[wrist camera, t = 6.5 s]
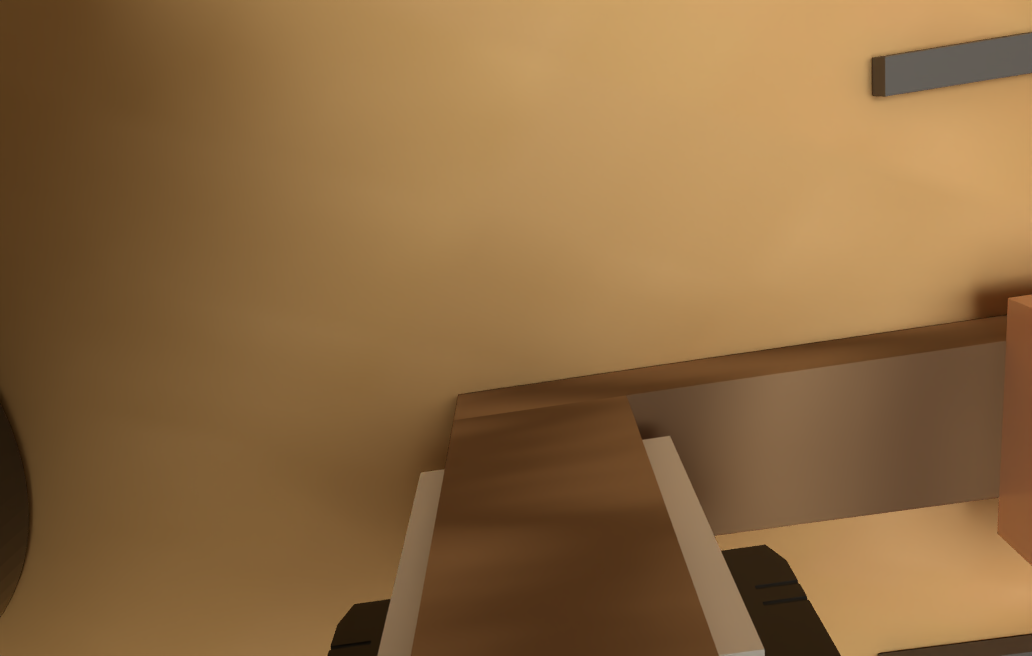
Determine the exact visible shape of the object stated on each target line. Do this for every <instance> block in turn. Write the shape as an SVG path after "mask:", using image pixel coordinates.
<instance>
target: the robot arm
mask: <svg viewBox="0 0 1032 656" xmlns="http://www.w3.org/2000/svg"><path fill="white" fill-rule="evenodd" d="M642 441H643V444H644V446H645V449H646V452H647V455H648V458H649V460H650V463H651V466H652V469H653V472H654V474H655V477H656V480H657V483H658V486H659V489H660V491H661V494H662V497H663V500H664V503H665V505H666V508H667V511H668V514H669V517H670V519H671V522H672V525H673V528H674V531H675V533H676V536H677V539H678V542H679V545H680V548H681V550H682V553H683V556H684V559H685V562H686V564H687V567H688V570H689V573H690V576H691V578H692V581H693V584H694V587H695V590H696V593H697V595H698V598H699V601H700V604H701V607H702V609H703V612H704V615H705V618H706V621H707V623H708V626H709V629H710V632H711V635H712V638H713V640H714V643H715V646H716V649H717V652H718V654H719V656H841V655H840V653H839V652H838V650H837V648H836V646H835V645H834V643H833V641H832V639H831V638H830V636H829V634H828V632H827V631H826V629H825V627H824V625H823V624H822V622H821V620H820V618H819V617H818V615H817V613H816V611H815V610H814V608H813V606H812V604H811V603H810V601H809V600H807V596H806V594H805V592H804V590H803V589H802V587H801V585H800V584H798V580H797V578H796V576H795V575H794V573H793V571H792V569H791V568H790V566H789V564H788V562H787V561H786V560H785V559H784V558H783V557H781V556H780V555H778V554H777V553H776V552H774V551H773V550H772V549H770V548H769V547H768V546H766V545H760V546H753V547H746V548H738V549H731V550H724V551H721V550H720V548H719V545H718V543H717V541H716V539H715V536H714V534H713V532H712V530H711V527H710V525H709V523H708V521H707V518H706V516H705V514H704V512H703V509H702V507H701V505H700V503H699V500H698V498H697V496H696V494H695V491H694V489H693V487H692V485H691V482H690V480H689V478H688V475H687V473H686V471H685V469H684V466H683V464H682V462H681V460H680V457H679V455H678V453H677V451H676V448H675V446H674V444H673V442H672V439H671V437H670V436H665V437H658V438H652V439H645V440H642ZM444 470H445V469H442V470H435V471H428V472H422V473H420V477H419V482H418V486H417V490H416V494H415V498H414V503H413V507H412V511H411V515H410V520H409V524H408V528H407V532H406V537H405V541H404V545H403V549H402V554H401V558H400V562H399V566H398V570H397V575H396V579H395V583H394V587H393V592H392V596H391V599H389V600H381V601H374V602H367V603H360V604H354V605H353V607H352V608H351V609H350V610H349V611H348V613H347V614H346V615H345V616H344V617H343V619H342V620H341V621H340V622H339V623H338V625H337V628H336V631H335V634H334V637H333V640H332V643H331V650H329V653H328V656H411V651H412V646H413V640H414V635H415V629H416V624H417V618H418V613H419V608H420V602H421V597H422V591H423V586H424V580H425V575H426V569H427V564H428V558H429V553H430V547H431V542H432V536H433V531H434V525H435V520H436V514H437V509H438V503H439V498H440V492H441V487H442V481H443V476H444ZM28 528H29V505H28V495H27V485H26V480H25V475H24V469H23V465H22V461H21V457H20V454H19V450H18V446H17V443H16V440H15V438H14V435H13V432H12V429H11V426H10V424H9V422H8V419H7V417H6V415H5V412H4V410H3V408H2V406H1V404H0V616H1V615H2V613H3V612H4V610H5V608H6V607H7V605H8V603H9V601H10V599H11V597H12V595H13V593H14V590H15V588H16V585H17V582H18V580H19V577H20V574H21V570H22V567H23V563H24V559H25V553H26V547H27V541H28Z"/></svg>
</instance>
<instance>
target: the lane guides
mask: <svg viewBox="0 0 1032 656" xmlns="http://www.w3.org/2000/svg"><path fill="white" fill-rule="evenodd" d="M872 73H873V96H890V95H897V94H903V93H909V92H916V91H922V90H928V89H934V88H941V87H947V86H953V85H959V84H966V83H972V82H978V81H984V80H991V79H997V78H1003V77H1009V76H1016V75H1022V74H1028V73H1032V32H1028V33H1022V34H1016V35H1010V36H1003V37H997V38H991V39H985V40H979V41H973V42H967V43H960V44H954V45H948V46H942V47H936V48H930V49H923V50H917V51H911V52H905V53H899V54H893V55H886V56H880V57H874V58H872ZM879 656H1032V635H1025V636H1017V637H1009V638H1001V639H993V640H985V641H977V642H970V643H962V644H954V645H946V646H938V647H930V648H922V649H914V650H906V651H898V652H890V653H882V654H879Z"/></svg>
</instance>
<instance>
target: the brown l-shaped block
mask: <svg viewBox="0 0 1032 656" xmlns="http://www.w3.org/2000/svg"><path fill="white" fill-rule="evenodd" d="M1006 332H1007V315H1003V316H996V317H989V318H983V319H976V320H969V321H962V322H955V323H948V324H941V325H934V326H928V327H921V328H914V329H907V330H900V331H893V332H886V333H879V334H873V335H866V336H859V337H852V338H845V339H838V340H831V341H824V342H818V343H811V344H804V345H797V346H790V347H783V348H776V349H769V350H763V351H756V352H749V353H742V354H735V355H728V356H721V357H714V358H708V359H701V360H694V361H687V362H680V363H673V364H666V365H659V366H652V367H646V368H639V369H632V370H625V371H618V372H611V373H604V374H597V375H591V376H584V377H577V378H570V379H563V380H556V381H549V382H542V383H536V384H529V385H522V386H515V387H508V388H501V389H494V390H487V391H481V392H474V393H467V394H460V395H458V399H457V404H456V410H455V415H454V421H453V426H452V432H451V437H450V443H449V448H448V454H447V459H446V465H445V470H444V476H443V481H442V487H441V492H440V498H439V503H438V509H437V514H436V520H435V525H434V531H433V536H432V542H431V547H430V553H429V558H428V564H427V569H426V575H425V580H424V586H423V591H422V597H421V602H420V608H419V613H418V618H417V624H416V629H415V635H414V640H413V646H412V651H411V656H719V654H718V652H717V649H716V646H715V643H714V640H713V638H712V635H711V632H710V629H709V626H708V623H707V621H706V618H705V615H704V612H703V609H702V607H701V604H700V601H699V598H698V595H697V593H696V590H695V587H694V584H693V581H692V578H691V576H690V573H689V570H688V567H687V564H686V562H685V559H684V556H683V553H682V550H681V548H680V545H679V542H678V539H677V536H676V533H675V531H674V528H673V525H672V522H671V519H670V517H669V514H668V511H667V508H666V505H665V503H664V500H663V497H662V494H661V491H660V489H659V486H658V483H657V480H656V477H655V474H654V472H653V469H652V466H651V463H650V460H649V458H648V455H647V452H646V449H645V446H644V444H643V441H642V440H645V439H652V438H658V437H665V436H670V437H671V439H672V442H673V444H674V446H675V448H676V451H677V453H678V455H679V457H680V460H681V462H682V464H683V466H684V469H685V471H686V473H687V475H688V478H689V480H690V482H691V485H692V487H693V489H694V491H695V494H696V496H697V498H698V500H699V503H700V505H701V507H702V509H703V512H704V514H705V516H706V518H707V521H708V523H709V525H710V527H711V530H712V532H713V534H714V536H716V535H723V534H731V533H738V532H745V531H753V530H760V529H768V528H775V527H783V526H790V525H797V524H805V523H812V522H820V521H827V520H835V519H842V518H850V517H857V516H864V515H872V514H879V513H887V512H894V511H902V510H909V509H916V508H924V507H931V506H939V505H946V504H954V503H961V502H969V501H976V500H983V499H991V498H998V497H999V487H1000V465H1001V443H1002V421H1003V399H1004V377H1005V355H1006Z"/></svg>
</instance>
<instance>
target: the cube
mask: <svg viewBox="0 0 1032 656" xmlns="http://www.w3.org/2000/svg"><path fill="white" fill-rule="evenodd" d="M997 533H998V534H999V535H1000V536H1001V537H1002V538H1003V539H1004V540H1005V541H1006V542H1007V543H1008V544H1009V545H1010V546H1012V547H1013V548H1014V549H1015V550H1016V551H1017V552H1018V553H1019V554H1020V555H1021V556H1022V557H1023V558H1024V559H1025V560H1026V561H1028V562H1029V563H1030V564H1031V565H1032V295H1025V296H1018V297H1011V298H1008V310H1007V332H1006V355H1005V377H1004V399H1003V421H1002V443H1001V465H1000V487H999V509H998V531H997Z"/></svg>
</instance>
